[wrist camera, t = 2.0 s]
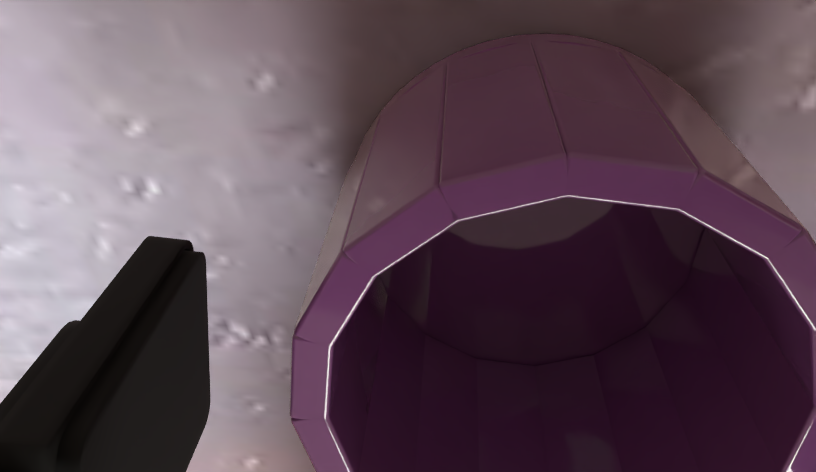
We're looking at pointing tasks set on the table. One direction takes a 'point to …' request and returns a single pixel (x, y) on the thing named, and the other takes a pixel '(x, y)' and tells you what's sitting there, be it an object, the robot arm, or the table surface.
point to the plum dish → (556, 281)
